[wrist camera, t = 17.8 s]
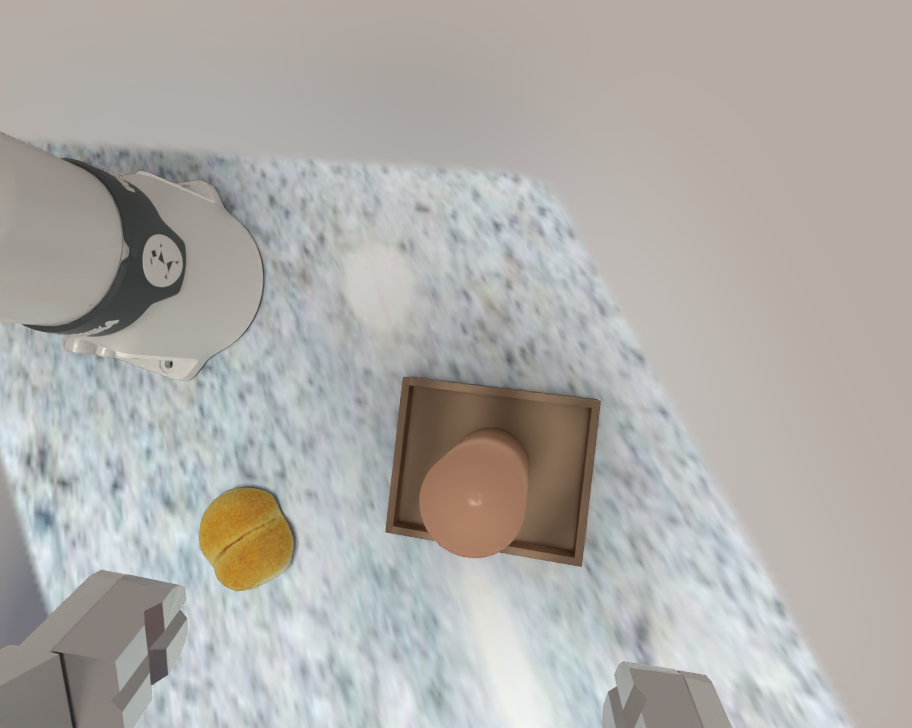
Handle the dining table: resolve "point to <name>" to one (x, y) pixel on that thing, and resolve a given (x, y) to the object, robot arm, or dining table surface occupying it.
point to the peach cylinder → (477, 494)
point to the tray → (534, 424)
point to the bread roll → (246, 538)
